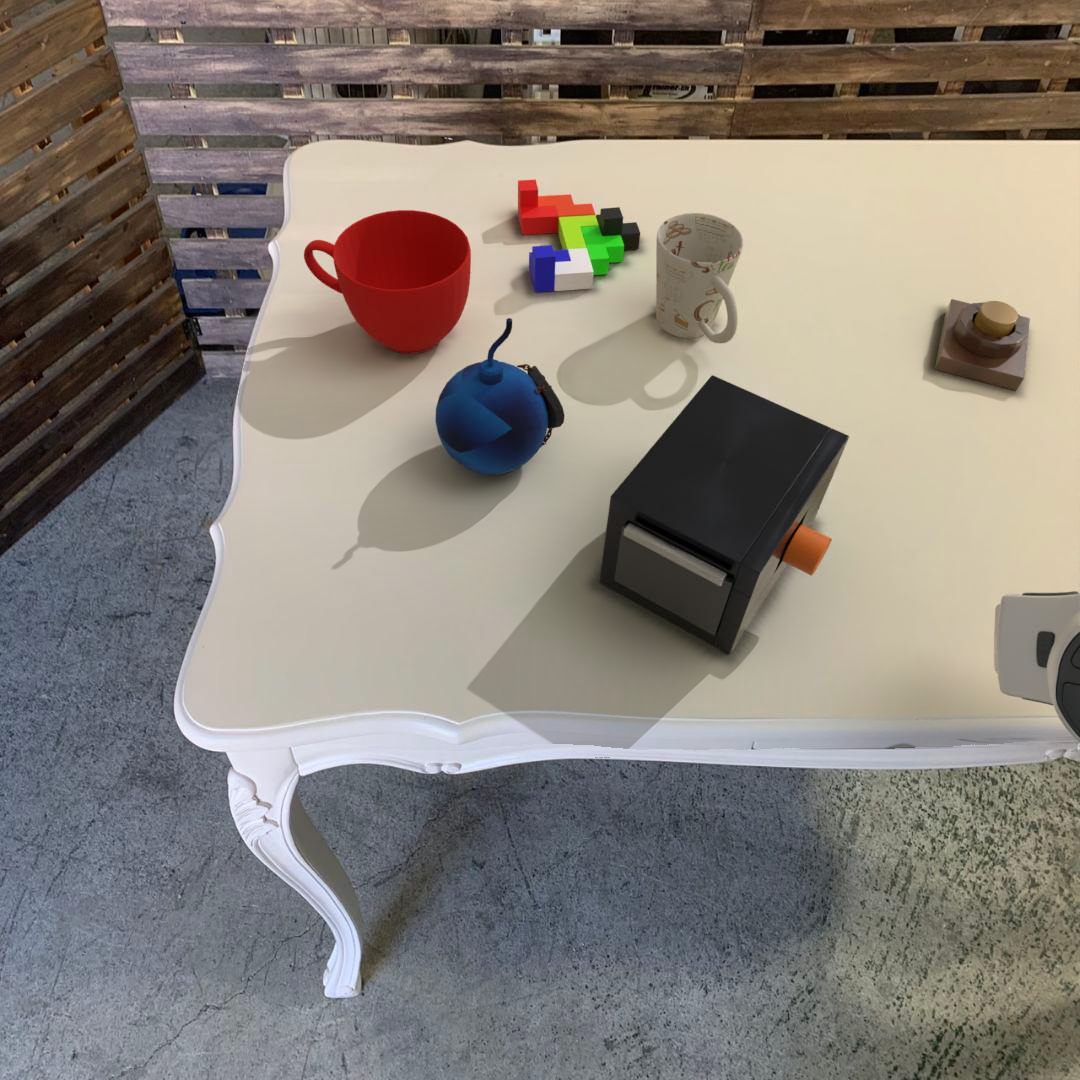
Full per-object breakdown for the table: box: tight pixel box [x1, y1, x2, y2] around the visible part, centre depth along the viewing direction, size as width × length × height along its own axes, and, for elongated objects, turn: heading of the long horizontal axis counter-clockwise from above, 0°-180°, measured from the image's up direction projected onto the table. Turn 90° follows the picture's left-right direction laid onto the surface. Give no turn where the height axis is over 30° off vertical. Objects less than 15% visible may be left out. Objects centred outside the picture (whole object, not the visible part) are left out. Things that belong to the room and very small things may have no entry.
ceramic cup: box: [303, 209, 472, 354], centre depth 89 cm, size 13×17×10 cm
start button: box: [974, 300, 1019, 337], centre depth 90 cm, size 4×4×2 cm
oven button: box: [782, 525, 832, 576], centre depth 69 cm, size 2×3×3 cm
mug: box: [655, 212, 744, 344], centre depth 90 cm, size 8×13×10 cm, turn 26°
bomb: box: [434, 317, 565, 475], centre depth 76 cm, size 10×11×15 cm
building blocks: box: [517, 179, 641, 293], centre depth 100 cm, size 15×13×4 cm
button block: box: [934, 298, 1031, 392], centre depth 92 cm, size 8×10×4 cm
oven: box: [598, 374, 850, 655], centre depth 71 cm, size 12×17×11 cm
